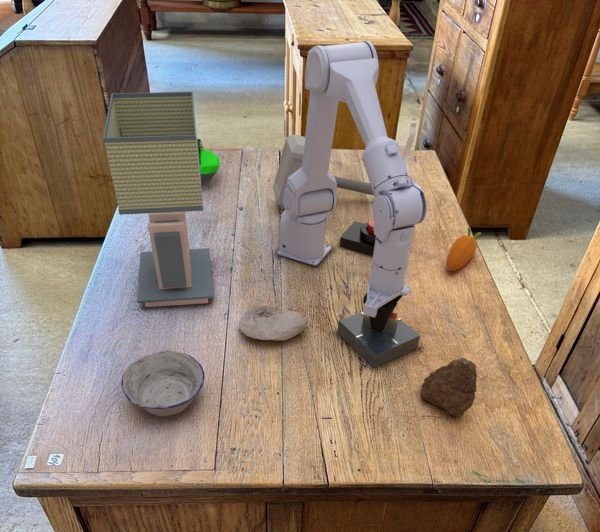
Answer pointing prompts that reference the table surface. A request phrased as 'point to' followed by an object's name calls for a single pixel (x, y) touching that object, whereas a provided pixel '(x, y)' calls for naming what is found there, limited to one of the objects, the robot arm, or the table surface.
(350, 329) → the panel
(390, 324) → the silver block
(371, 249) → the button box
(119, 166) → the desk lamp
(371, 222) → the red button
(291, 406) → the table surface
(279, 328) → the fossil
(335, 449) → the table surface
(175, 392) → the bowl
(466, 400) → the rock
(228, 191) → the table surface
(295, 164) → the hammer
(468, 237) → the carrot
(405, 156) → the decorative finial
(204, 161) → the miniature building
